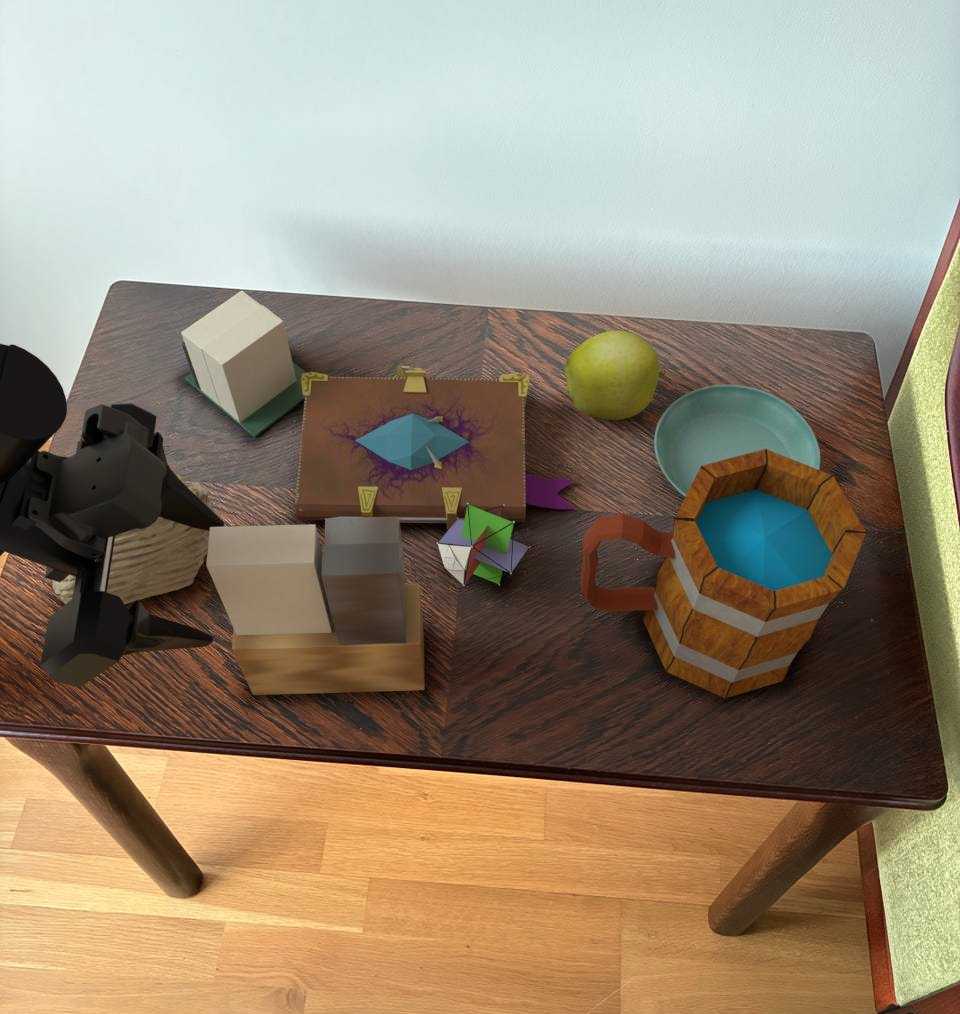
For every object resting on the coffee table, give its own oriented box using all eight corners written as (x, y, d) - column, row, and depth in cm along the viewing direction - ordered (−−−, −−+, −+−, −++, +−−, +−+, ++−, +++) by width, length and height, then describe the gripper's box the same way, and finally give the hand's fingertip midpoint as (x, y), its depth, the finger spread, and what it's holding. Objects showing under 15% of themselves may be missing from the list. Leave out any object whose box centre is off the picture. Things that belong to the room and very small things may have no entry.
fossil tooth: (62, 581, 88) (223, 510, 90) (80, 638, 85) (247, 564, 87) (-7, 505, 78) (177, 427, 80) (11, 567, 75) (201, 485, 77)
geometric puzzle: (474, 490, 89) (448, 488, 81) (546, 519, 87) (526, 519, 80) (445, 567, 90) (417, 572, 82) (516, 596, 89) (494, 604, 81)
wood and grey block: (252, 695, 82) (199, 580, 66) (257, 637, 84) (206, 512, 68) (424, 690, 82) (414, 574, 66) (423, 633, 85) (413, 507, 68)
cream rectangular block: (236, 635, 75) (205, 565, 66) (239, 600, 76) (209, 526, 68) (332, 633, 75) (314, 562, 66) (333, 597, 77) (315, 524, 68)
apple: (668, 428, 95) (684, 369, 88) (573, 446, 94) (582, 387, 87) (642, 366, 98) (656, 303, 91) (551, 382, 97) (558, 320, 90)
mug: (799, 561, 88) (858, 455, 75) (809, 704, 82) (876, 616, 69) (572, 545, 89) (591, 436, 75) (565, 685, 83) (584, 594, 69)
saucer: (828, 529, 90) (837, 512, 87) (662, 537, 89) (667, 521, 87) (793, 398, 96) (801, 379, 94) (639, 405, 96) (643, 386, 94)
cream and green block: (254, 438, 94) (237, 378, 87) (185, 379, 97) (162, 317, 90) (322, 386, 96) (310, 325, 89) (252, 331, 100) (236, 268, 92)
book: (575, 537, 90) (580, 508, 85) (295, 534, 90) (285, 504, 85) (569, 387, 97) (574, 352, 92) (309, 384, 97) (301, 349, 92)
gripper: (21, 579, 52) (276, 666, 62) (74, 307, 60) (291, 422, 70) (-63, 652, 59) (179, 720, 69) (-5, 398, 67) (203, 492, 77)
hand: (215, 583), depth 71 cm, fingers open, 9 cm apart
